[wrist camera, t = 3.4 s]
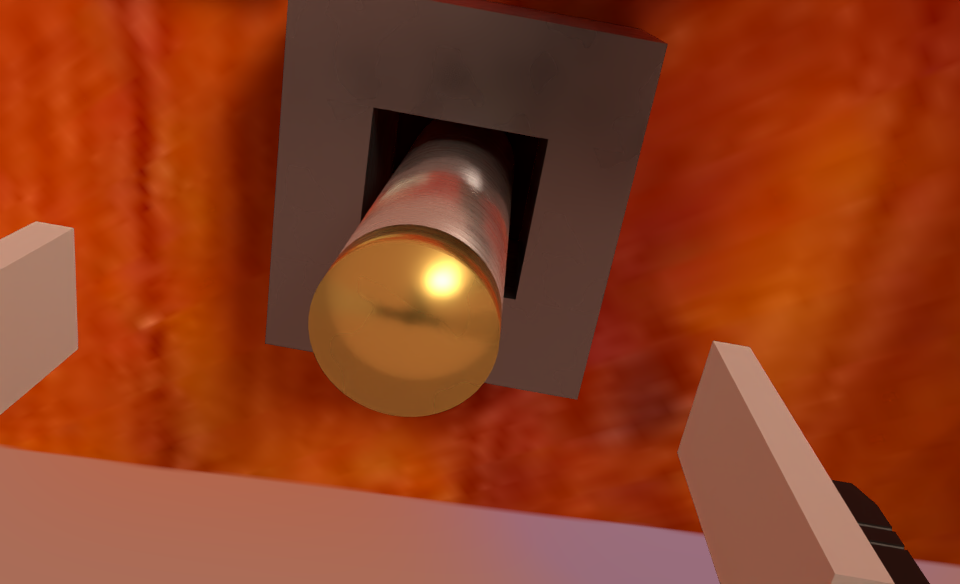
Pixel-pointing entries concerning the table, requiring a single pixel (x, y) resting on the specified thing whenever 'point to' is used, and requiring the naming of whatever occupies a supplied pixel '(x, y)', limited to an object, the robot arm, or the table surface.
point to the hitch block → (473, 101)
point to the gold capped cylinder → (422, 278)
